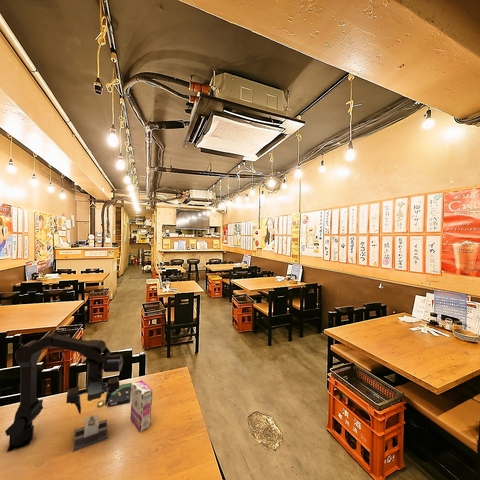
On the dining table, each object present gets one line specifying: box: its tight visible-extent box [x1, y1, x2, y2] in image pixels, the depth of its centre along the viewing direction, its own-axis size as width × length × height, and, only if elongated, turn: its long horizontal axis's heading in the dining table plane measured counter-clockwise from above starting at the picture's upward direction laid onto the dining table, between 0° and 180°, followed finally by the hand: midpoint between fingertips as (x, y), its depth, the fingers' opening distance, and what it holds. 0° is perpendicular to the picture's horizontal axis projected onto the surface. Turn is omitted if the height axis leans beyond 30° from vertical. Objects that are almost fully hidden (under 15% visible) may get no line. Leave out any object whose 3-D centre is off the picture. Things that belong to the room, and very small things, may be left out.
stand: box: [72, 419, 109, 453], centre depth 97 cm, size 12×11×2 cm
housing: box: [83, 413, 100, 438], centre depth 97 cm, size 7×5×4 cm
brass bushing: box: [96, 400, 105, 408], centre depth 115 cm, size 3×3×2 cm
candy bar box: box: [130, 379, 153, 433], centre depth 105 cm, size 11×5×16 cm, turn 47°
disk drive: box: [106, 382, 133, 408], centre depth 122 cm, size 10×3×15 cm
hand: (93, 409), depth 97 cm, fingers open, 9 cm apart
